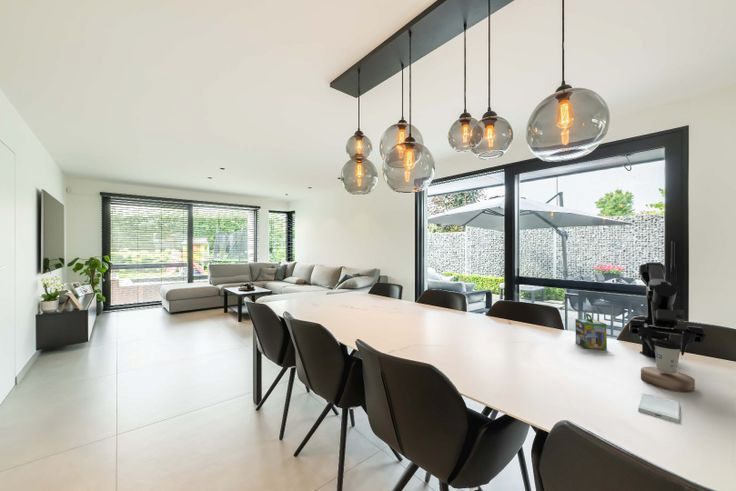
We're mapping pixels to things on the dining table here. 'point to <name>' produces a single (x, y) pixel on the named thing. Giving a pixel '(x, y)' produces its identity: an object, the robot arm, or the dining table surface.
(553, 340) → the dining table surface
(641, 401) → the hard drive
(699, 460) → the dining table surface
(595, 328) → the chalk box
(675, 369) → the coffee cup
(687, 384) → the podium
